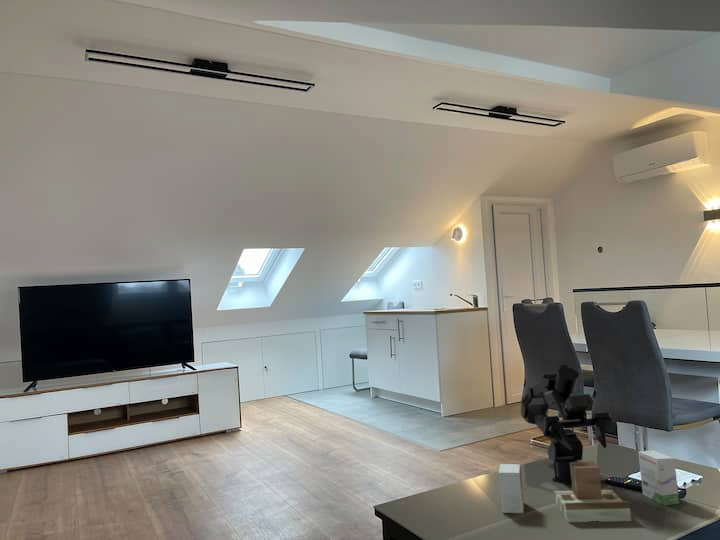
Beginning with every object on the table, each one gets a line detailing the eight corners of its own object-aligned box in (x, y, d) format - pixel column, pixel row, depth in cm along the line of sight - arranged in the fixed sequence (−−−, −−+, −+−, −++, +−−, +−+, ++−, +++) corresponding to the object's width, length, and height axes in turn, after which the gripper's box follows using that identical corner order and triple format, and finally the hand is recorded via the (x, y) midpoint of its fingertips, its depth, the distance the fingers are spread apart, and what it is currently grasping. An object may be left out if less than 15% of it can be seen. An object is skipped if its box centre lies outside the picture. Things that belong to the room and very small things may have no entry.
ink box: (680, 504, 135) (675, 457, 136) (663, 506, 135) (657, 459, 135) (658, 492, 144) (653, 449, 144) (642, 494, 143) (637, 450, 144)
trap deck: (555, 502, 142) (553, 485, 142) (613, 501, 140) (611, 483, 140) (567, 522, 129) (565, 503, 130) (631, 521, 127) (629, 502, 128)
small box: (523, 514, 136) (519, 473, 137) (501, 513, 138) (497, 472, 138) (524, 502, 144) (520, 463, 144) (503, 501, 145) (499, 463, 146)
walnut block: (572, 492, 140) (569, 462, 141) (596, 492, 139) (592, 461, 140) (577, 499, 135) (574, 468, 136) (602, 499, 134) (598, 467, 135)
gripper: (538, 388, 150) (559, 431, 137) (602, 383, 151) (629, 425, 138) (533, 414, 156) (553, 458, 143) (595, 409, 157) (620, 452, 144)
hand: (588, 448), depth 142 cm, fingers open, 9 cm apart
